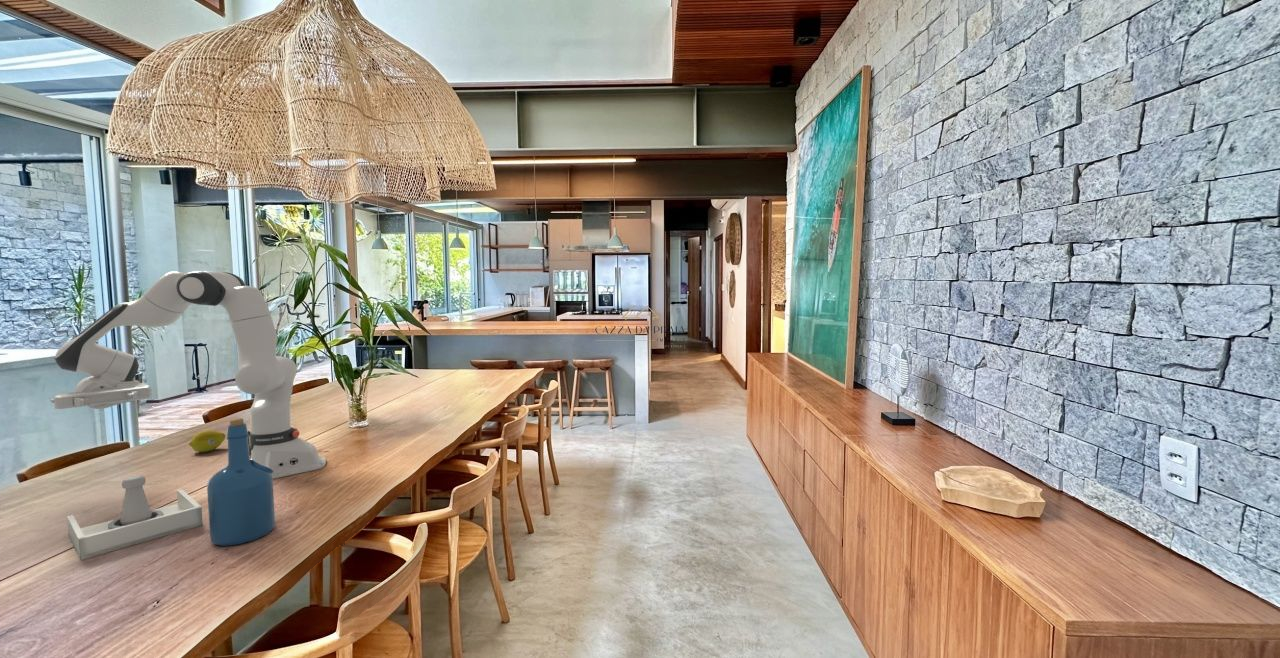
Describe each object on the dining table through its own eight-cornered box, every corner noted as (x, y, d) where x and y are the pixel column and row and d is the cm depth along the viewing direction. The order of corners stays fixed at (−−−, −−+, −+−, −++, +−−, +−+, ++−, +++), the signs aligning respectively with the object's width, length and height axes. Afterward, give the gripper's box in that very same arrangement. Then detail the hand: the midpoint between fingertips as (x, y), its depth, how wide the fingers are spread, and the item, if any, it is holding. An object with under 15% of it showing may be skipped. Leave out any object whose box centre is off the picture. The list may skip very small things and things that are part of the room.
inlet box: (68, 535, 130) (67, 516, 129) (182, 505, 147) (181, 489, 147) (80, 560, 118) (78, 539, 117) (202, 525, 135) (201, 506, 135)
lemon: (190, 456, 190) (189, 435, 190) (188, 452, 196) (187, 431, 195) (227, 450, 198) (226, 430, 197) (225, 445, 203) (223, 426, 203)
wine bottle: (222, 553, 121) (214, 429, 118) (200, 539, 128) (192, 421, 125) (287, 530, 132) (280, 416, 130) (263, 518, 139) (257, 410, 137)
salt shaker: (132, 532, 129) (128, 482, 128) (114, 530, 130) (110, 480, 129) (158, 522, 135) (154, 474, 134) (141, 520, 136) (137, 472, 135)
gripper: (48, 389, 149) (54, 395, 141) (144, 379, 165) (154, 384, 157) (50, 410, 149) (56, 417, 141) (146, 398, 166) (156, 404, 158)
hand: (109, 399), depth 149 cm, fingers open, 8 cm apart
